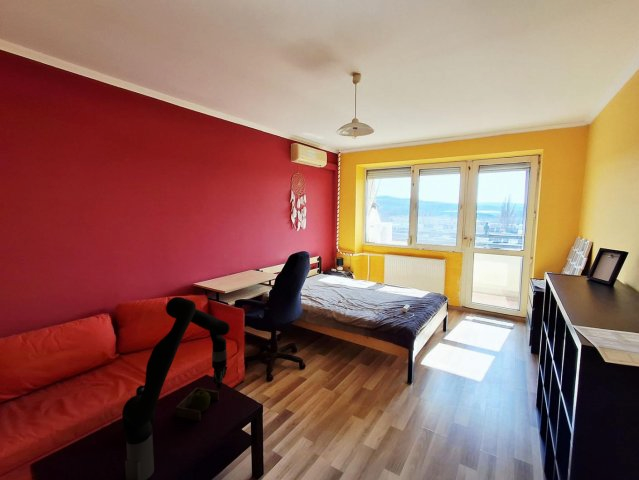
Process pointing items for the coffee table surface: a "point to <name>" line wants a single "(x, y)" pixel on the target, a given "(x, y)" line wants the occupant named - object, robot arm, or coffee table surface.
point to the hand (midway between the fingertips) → (219, 388)
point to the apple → (200, 401)
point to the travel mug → (139, 392)
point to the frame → (181, 407)
